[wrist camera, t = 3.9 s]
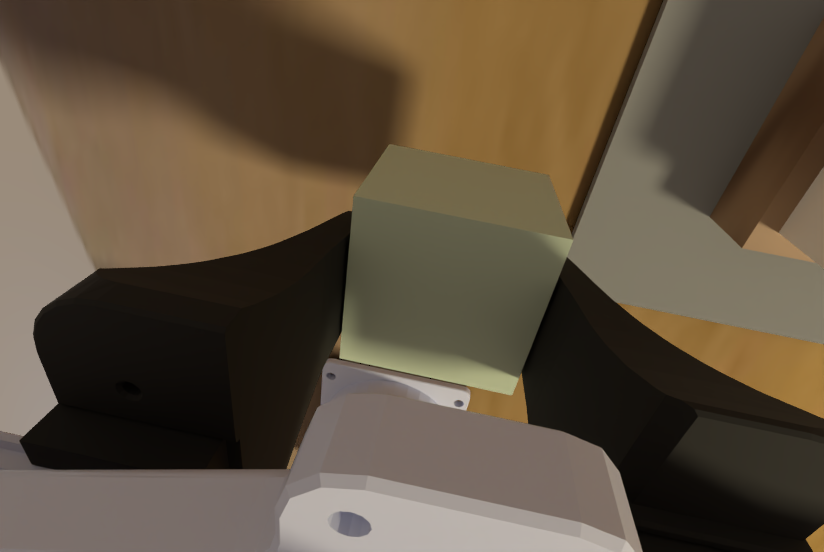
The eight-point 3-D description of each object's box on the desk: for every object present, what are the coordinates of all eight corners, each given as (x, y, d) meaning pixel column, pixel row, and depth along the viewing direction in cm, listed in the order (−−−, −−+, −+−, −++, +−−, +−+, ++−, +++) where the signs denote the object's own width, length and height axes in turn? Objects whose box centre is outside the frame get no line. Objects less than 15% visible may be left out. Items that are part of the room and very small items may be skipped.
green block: (505, 305, 15) (512, 395, 11) (372, 277, 15) (339, 358, 11) (548, 175, 12) (573, 239, 9) (389, 143, 12) (353, 195, 9)
